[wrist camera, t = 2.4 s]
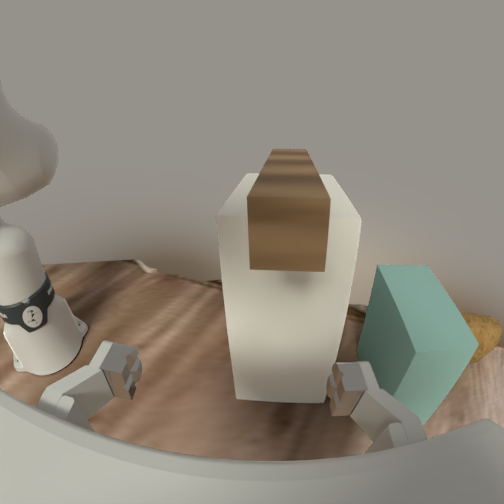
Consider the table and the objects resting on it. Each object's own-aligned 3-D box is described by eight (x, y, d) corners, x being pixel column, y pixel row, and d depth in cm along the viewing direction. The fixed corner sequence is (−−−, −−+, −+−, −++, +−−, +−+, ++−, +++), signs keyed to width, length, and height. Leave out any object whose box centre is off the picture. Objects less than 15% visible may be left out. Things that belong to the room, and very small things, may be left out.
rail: (324, 271, 15) (330, 198, 13) (249, 269, 15) (246, 196, 13) (305, 180, 34) (305, 149, 32) (273, 180, 35) (273, 148, 33)
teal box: (369, 433, 28) (415, 352, 21) (356, 349, 42) (377, 264, 35) (422, 426, 27) (479, 344, 20) (399, 347, 41) (427, 265, 34)
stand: (236, 398, 35) (215, 215, 23) (252, 317, 51) (247, 173, 39) (323, 403, 33) (361, 219, 22) (318, 320, 49) (331, 174, 38)
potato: (496, 370, 31) (517, 336, 27) (435, 375, 34) (455, 339, 30) (481, 335, 39) (496, 302, 36) (424, 335, 42) (438, 300, 39)
